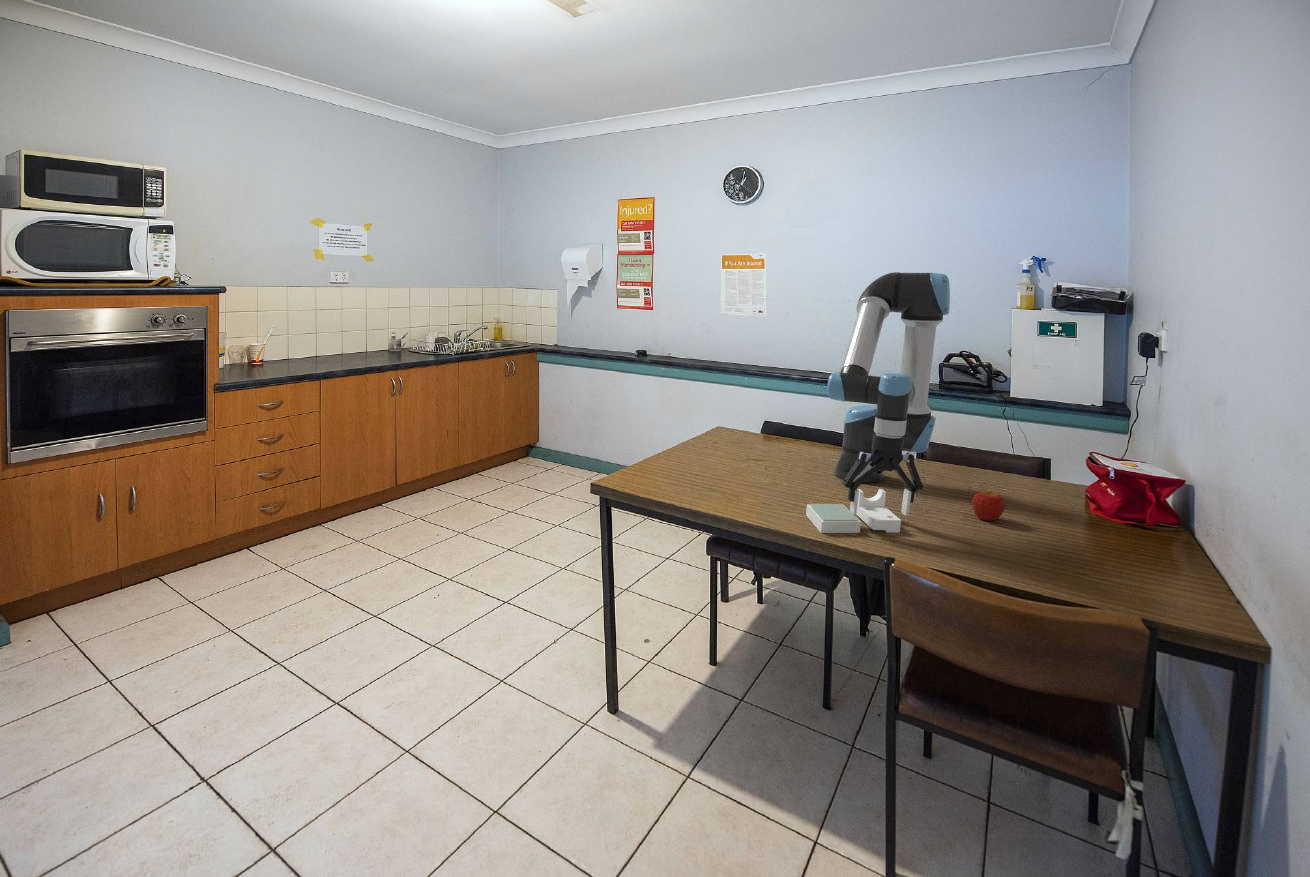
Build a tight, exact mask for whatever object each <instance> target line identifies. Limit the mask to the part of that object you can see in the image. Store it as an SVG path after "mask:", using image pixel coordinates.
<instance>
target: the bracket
mask: <svg viewBox="0 0 1310 877" xmlns="http://www.w3.org/2000/svg"><path fill="white" fill-rule="evenodd" d="M857 490H859V496H858V504H857V513H856V516H858V517H859V518H860V519H861V520H862V521H863V522H864V523H865V524H866V525H867V526H868V527H869V528H870V529H871V530H872V531H884V532H885V533H900V532H901V524H902V519H901V518H899V516H897V515H895V513H893V512H892V511H891V510H890V509H888V508H887V507H886V506H885V503H886V496H887V494H886V493H887V492H886V491H885V490H884V489H883V488H878V491H877V493H876V494H875V495H874V496H872V497H866V496H865V495H864V491H863V490H862V489H860V488H857Z"/></svg>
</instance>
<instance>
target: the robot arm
mask: <svg viewBox="0 0 1310 877" xmlns="http://www.w3.org/2000/svg"><path fill="white" fill-rule="evenodd" d="M949 279H950V278H949V277H948V275H946V274H944V273H936V272H898V271H896V272H889V273H886V274H884V275H881V276H880V277H878V278H876V279H875V280H873V281H872V282H871V283H870V284H868V286H867V287H866V288H865V289H864V291H863V292H862V293H861V294H860V296H859V298H858V300H857V301H858V302H857V304H856V313H857V316H856V319H855V323H854V325H853V329H852V332H851V335H850V340H849V343H848V345H847V349H846V352H845V355H844V357H843V358H844V359H843V361H842V365H841V367H840V372H839V371H838V372H832V373H831V374H830V375H829V376H828V381H827V385H826V386H827V387H826V388H827V390H826V391H827V392H826V393H827V396H828V398H829V399H830V400H833V401H840V402H843V403H844V402H849V403H861V404H862V405H855V406H852V407H850V408H848V409H847V410H846V413H845V417H844V418H845V419H844V421H843V425H844V426H843V434H842V436H843V438H842V447H841V453H840V455H839V457H838V460H837V461H836V463H835V466H834V476H836V477H838V478H839V479H842V482H841V484H842V486H844V487H845V488H848V494H847V500H848V501H849V502H850V504H849V505H850V506H849V511H850V512H851V513H852V514H853V515H855V516H857V514H856V513H857V504H858V496H859V490H857V489H859V487H860V486H861V485H862V484H863V483H865V484H867V483H869V484H870V483H876V482H877V483H878V482H881V481H883V477H884V476H883V475H884V472H892V471H894V472H895V473H896V474H897V475H898V477H899V478H900V480H901V481H902V483H903V484H904V486H906V488H904V489H903V495H902V502H901V510H900V513H901V514H903V515H904V516H905V517H909V515H910V514H909V513H910V507H911V504H913V502H914V501H915V493H917V492H918V490H923V489H924V485H923V483H922V480H921V477H920V475H919V472H918V470H917V467H916V464H915V455H914V454H912V453H921V454H922V453H924V452H926V451H927V450H928V448H929V444H930V441H931V437H932V435H933V433H934V432H933V431H934V428H935V423H936V416H934V415H932V409H931V407H930V406H929V405H928V397H929V392H930V391H929V390H930V383H931V374H932V365H933V364H932V363H933V357H934V348H935V339H936V333H937V326H938V325H940V324H941V323H942V322H943V319H944V316H946V315H947V316H948V315H949V313H950V309H951V306H950V305H951V295H950V294H951V292H950V291H951V289H950V281H949ZM890 313H900V320H901V321H902V323H903V324H904V334H903V335H904V337H903V346H902V354H901V361H900V362H901V365H900V373H895V372H893V373H892V372H887V373H885V372H884V373H883V374H881V376H875V375H870V371H871V368H872V363H873V361H874V357H875V354H876V350H877V346H878V343H879V339H880V335H881V332H882V328H883V325H884V321H885V319H887V318H888V317H889V315H890ZM863 404H866V405H863ZM903 452H905V453H904V454H903ZM903 461H904V463H905V465H906V467H907V470H908V473H909V475H910V478H911V480H912V481H911V480H910V478H909V477H908V476H907V474H906V473H905V472H904V469H903V468H902V467H901V465H900V463H902V462H903Z"/></svg>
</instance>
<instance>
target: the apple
mask: <svg viewBox="0 0 1310 877" xmlns="http://www.w3.org/2000/svg"><path fill="white" fill-rule="evenodd" d="M971 504H972V505H971V506H972V510H973V511H974V515H975V516H976V517H977V518H978V519H980V520H983V521H995V520H998V519H999V518H1000V517H1001V516H1002V515H1003V513H1004V511H1005V508H1006V502H1005V500H1004V498H1003V497H1002V495H1001V494H1000V493H996V492H993V491H979V492H977V493H976V494H974V496H973V497H972V501H971Z"/></svg>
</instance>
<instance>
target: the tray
mask: <svg viewBox="0 0 1310 877" xmlns="http://www.w3.org/2000/svg"><path fill="white" fill-rule="evenodd" d="M805 516H807V518H808V519H809V520H810V521H811V523H812V524H813V525H814V527H816V529H817V530H818V531H819V532H820V534H860V533H861V525H862V524H861V523H862V522H861V520H860V519H859V518H858V517H857V515H853V514H852V513H851V512H850V509H848V508H847V506H846V505H844V504H843V503H808V504H806V513H805Z"/></svg>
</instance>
